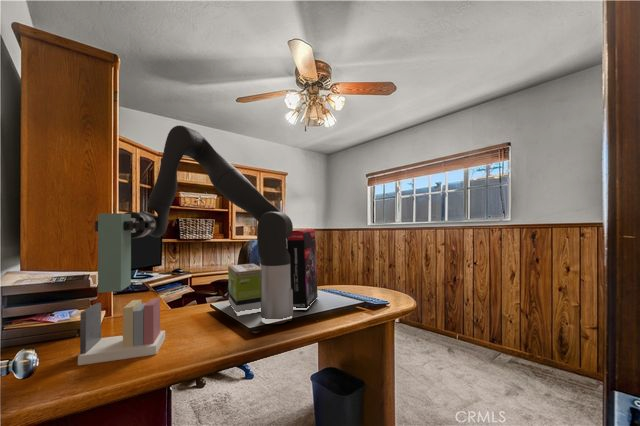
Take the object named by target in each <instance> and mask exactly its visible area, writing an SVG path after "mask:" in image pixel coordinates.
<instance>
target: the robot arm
mask: <svg viewBox="0 0 640 426" xmlns="http://www.w3.org/2000/svg"><path fill="white" fill-rule="evenodd" d="M183 156H185V157H189V158H191V159H192V160H194V162H196V163H198V164H199V165H200V166H201V167H202V168H203V169H204V170H205V171H206V173H207V175H208V178H209V180H210V181H209V182H210V183H211V184H212V185H213V187H214V188H215V189H216V190H217V191H218V192H219V193H220V194H221V195H222V196H223V197H224V198H225V199H226V200H227V201H229V202H230V203H232V204H233V205H235V206H236V207H238V208H240V209H241V210H243V211H244V212H246V213H248V214H249V215H250V216H251V217H253V218H254V219H255V220H256V221H257V225H256V244H257V246H256V247H257V255H258V257H259V260H260V261H259V262H260V265H259V267H260V272H261V313H260V318H261V317H262V318H265V319H283V318H287V317H290V316H293V317H294V311H293V290H292V288H291V258H290V254H289V253H288V250H287V238H288V237H289V236H290V235H291V233H292V231H293V230H294V227H293V222H292V219H291V218H290V217H289V215H288V214H286V212H284V211H282V210H281V209H279V208H278V207H277V206H276V205H274V204H273V203H271V202H270V201H269V200H268V199H267V198H266V197H265V196H264V195H263V194H262V193H261V192H260V191H259V190H258V188H256V186H254V184H252V183H251V181H249V179H248V178H247V177H245V176H244V175H243V173H242V172H241V171H240V170H238V168H236V167H235V166H234V165H233V164H231V163H230V162H229V161H228V160H227V159H226V158H225V157H223V156H222V155H221V154H220V153H219V152H218V151H217V150H216V149H215V148H214V147H213V146H212V145H211V142H209V141H208V139H207V138H206V137H205V135H203V134H202V133H200V132H199V131H197V130H196V129H192V128H189V127H187V126H184V125H176V126H175V125H174V126H173V127H172V128H171V129H170V130H169V132H168V133H167V137H166V140H165V144H164V147H163V153H162V156H161V157H162V158H161V162H160V166H159V170H158V174H157V178H156V181H155V183H154V185H153V188H152V190H151V193H150V195H149V196H148V199H147V206H148V208H150V209H151V210H153V211H154V213H156V214H157V215H156V214H153V213H151V212H148V211H145V210H142V211H139V212H138V211H137V212H135V211H128V212H123V214H131V221H124V231H125V230H131V240H133V239H137V238H143V237H145V236H151V237H153V238H161V237H162V236H164V235H165V233H167V229H168V223H169V214H170V210H171V209H170V208H171V207H172V204H173V202H174V200H175V197H176V195H177V191H178V168H179V165H180V163H181V160H182V158H183ZM94 232H97V233H98V220H96V221H94Z"/></svg>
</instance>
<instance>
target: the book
mask: <svg viewBox="0 0 640 426" xmlns="http://www.w3.org/2000/svg"><path fill="white" fill-rule="evenodd" d="M97 221H98V232H97V294H99V293H101V294H102V293H113V292H116V293H117V292H122V291H123V290H125V289H127V288H128V287H129V286H131V285H132V239H131V230H125V231H124V221H131V214H124V213H122V212H121V213H112V212H111V213H98V214H97Z"/></svg>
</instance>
